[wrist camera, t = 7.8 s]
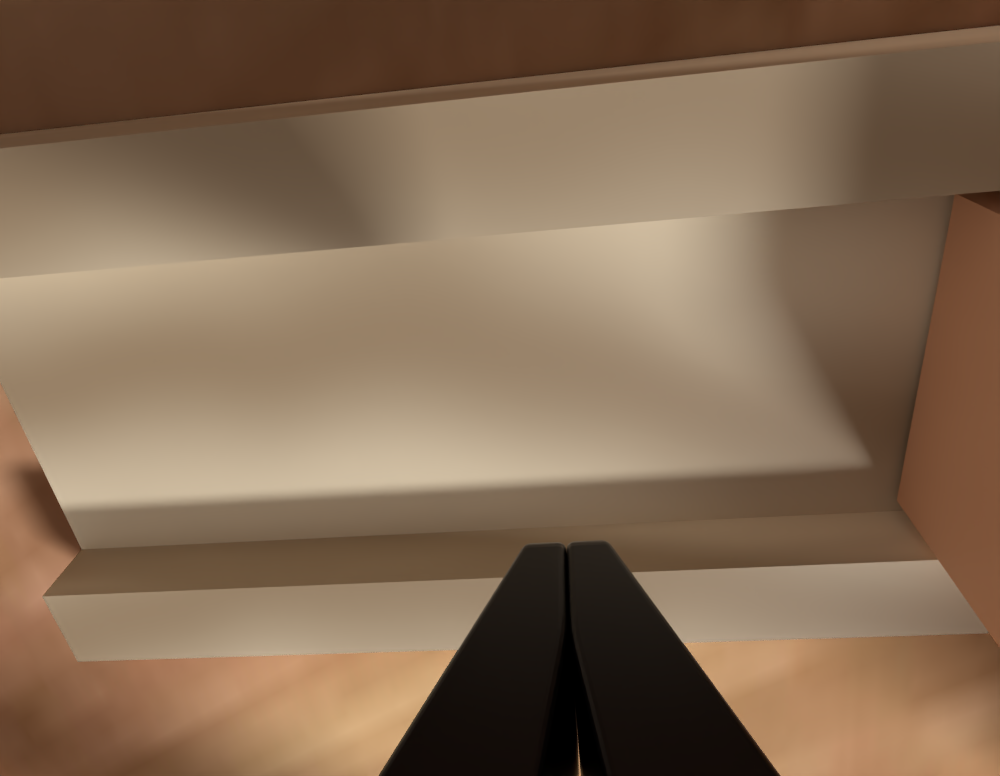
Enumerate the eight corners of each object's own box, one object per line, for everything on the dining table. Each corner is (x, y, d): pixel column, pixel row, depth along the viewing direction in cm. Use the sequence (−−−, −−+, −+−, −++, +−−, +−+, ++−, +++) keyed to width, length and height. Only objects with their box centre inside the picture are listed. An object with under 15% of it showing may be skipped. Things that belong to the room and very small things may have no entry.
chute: (1014, 553, 13) (1078, 630, 11) (127, 590, 15) (78, 661, 13) (1177, 5, 9) (1312, 8, 7) (-80, 143, 11) (-190, 169, 9)
